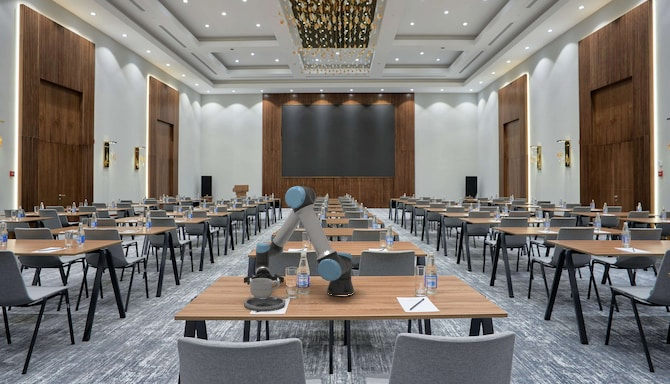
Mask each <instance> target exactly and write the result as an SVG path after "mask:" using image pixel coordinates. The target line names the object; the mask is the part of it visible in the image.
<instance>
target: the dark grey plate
mask: <svg viewBox="0 0 670 384" xmlns="http://www.w3.org/2000/svg"><path fill="white" fill-rule="evenodd" d="M243 307H244V308H245V309H246V310H249V311H254V312H272V311H278V310H282V309H283V308H285V307H286V302H285V299H284V298H282V297H280V296H279V297H278V296H272V295H269V296H268V297H266V298H256V297H254V296H253V297H249V298H247V299H245V300H244V304H243Z"/></svg>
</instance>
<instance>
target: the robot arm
mask: <svg viewBox="0 0 670 384" xmlns="http://www.w3.org/2000/svg"><path fill="white" fill-rule="evenodd" d="M316 199H317V195H316V192H315V190H314V189H313V188H312V187H309V186H300V185H296V186H292V187H290V188H289V189H288V190H287V191H286V193H285V197H284V201H285V204H286V205H287V206H288V207H289V208H290V209H292V210H291V211H290V213H289V214H288V216H287V218H286V220H285V221H284V222H283V224H282V225H281V227H280V229H279V230H278V231H277V233H276V235H275V236H274V238H273V240H272V241H271V242H270V243H269V242H258V243H256V246H255V247H256V248H255V267H254V272H255V275H254V274H252V273H251V274H249V275H247V276H245V277H243V283H244V284H247V285H249V286H250V285H251V282H250V281H251V280H252V279H256V278H267V279H271V280H272V281H275V280H276V281H278V283H279V286H280V284H282V283H284V282H285V277H284V276H281V275H278V274H277V273H274V274H273V275H272V274H271V272H270V259H271V258H275V257H279V256H280V255H282V254H283V252H284V247H285V245H286V244H287V243H288V241H289V240H290V238H291V236H292V235H293V233H294V232H295V230H296V229H297V227H298V226H299V224H300V223H302V227H304V230H305V232H306V234H307V236H308V238H309V241H310V243H311V245H312V247H313V249H314V251H315V253H316V257H317V258H316V263H317V264H318V266H317V272H318V275H319V276H320V278H321V279H322V280H324V281H326V282H329V283H328V286H327V288H326V294H327V293H329V294H332V295H348V294H352V293H353V292H354V293H355V288H354V285H353V282H352V273H353V271H352V270H353V268H352V267H353V256H352V255H353V254H352V253H348V252H340V251H339V252H338V251H337V250H336V249H333V247H332V246H331V244H330V242H329V240H328V237H327V235H326V233H325V231H324V228H323V227H322V225H321V223H320V220H319V218H318V216H317V214H316V211H315V210H314V208H315V203H316Z"/></svg>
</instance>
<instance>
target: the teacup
mask: <svg viewBox="0 0 670 384" xmlns="http://www.w3.org/2000/svg"><path fill="white" fill-rule="evenodd" d="M250 282H251V285H250V284H249V287H250V288H249V289H250V294H251V296H253V297H256V298H266V297H268V296H271V294H272V293H273V292H274V291H275V290H276V289H278V288H279V287H280V285H279V283H278V281H276V280H275V281H272V280H271V279H267V278H256V279H252V280H251V281H250ZM275 283H276V285H275V286H274V284H275ZM273 286H274V287H273Z"/></svg>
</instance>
